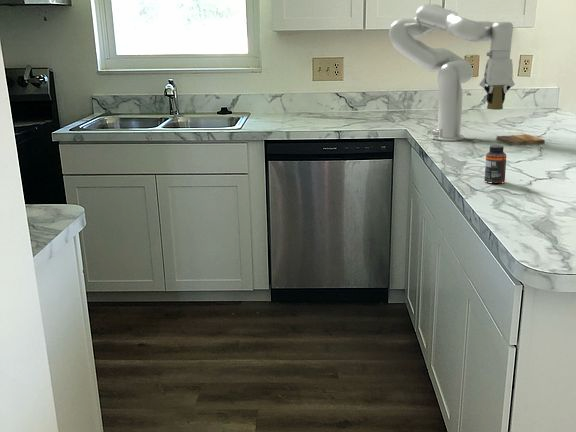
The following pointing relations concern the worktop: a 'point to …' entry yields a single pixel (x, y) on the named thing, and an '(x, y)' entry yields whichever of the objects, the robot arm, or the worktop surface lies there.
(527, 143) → the board
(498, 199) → the worktop surface
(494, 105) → the cork
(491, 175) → the supplement bottle
